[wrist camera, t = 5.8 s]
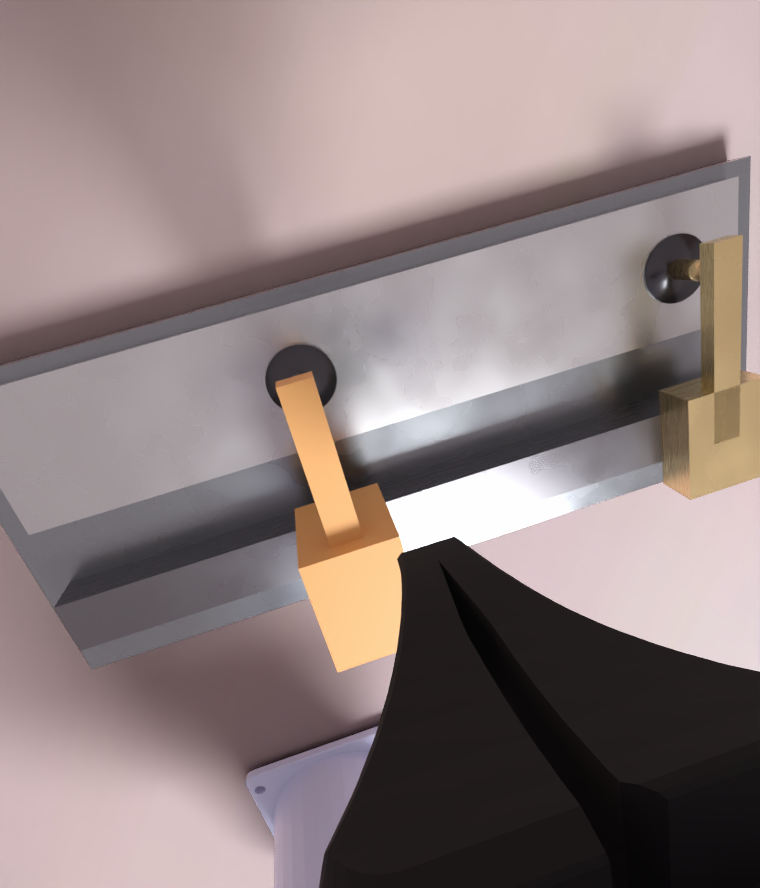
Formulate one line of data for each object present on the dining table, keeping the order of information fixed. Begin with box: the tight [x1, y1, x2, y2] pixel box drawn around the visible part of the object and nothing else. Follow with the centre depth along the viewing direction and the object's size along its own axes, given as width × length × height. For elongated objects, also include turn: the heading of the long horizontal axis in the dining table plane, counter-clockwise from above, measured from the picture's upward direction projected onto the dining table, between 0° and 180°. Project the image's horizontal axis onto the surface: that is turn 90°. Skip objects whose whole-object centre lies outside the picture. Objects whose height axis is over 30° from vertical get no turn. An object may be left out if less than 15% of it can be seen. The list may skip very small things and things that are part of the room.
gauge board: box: [0, 156, 760, 669], centre depth 19 cm, size 12×29×4 cm, turn 104°
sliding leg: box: [276, 371, 404, 672], centre depth 17 cm, size 9×3×4 cm, turn 14°
